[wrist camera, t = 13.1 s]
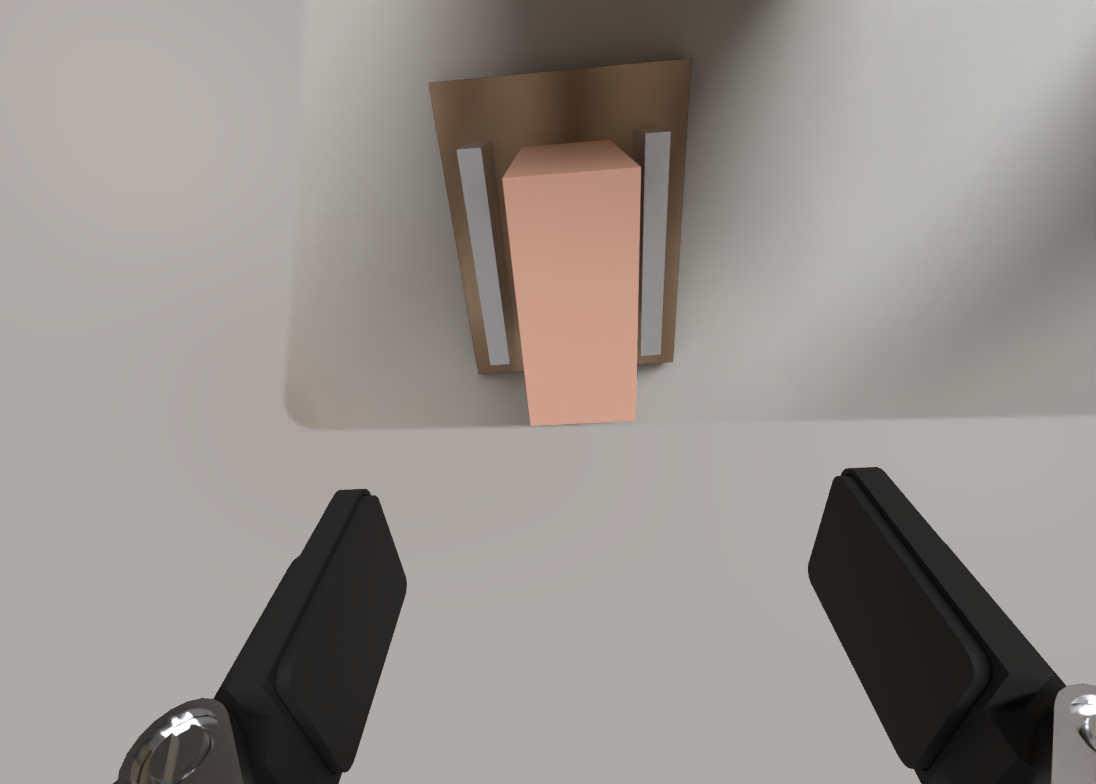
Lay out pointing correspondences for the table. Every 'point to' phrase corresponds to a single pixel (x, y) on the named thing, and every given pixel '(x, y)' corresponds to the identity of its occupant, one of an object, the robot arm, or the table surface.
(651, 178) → the bookends
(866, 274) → the table surface
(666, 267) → the shelf board
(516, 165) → the small book
